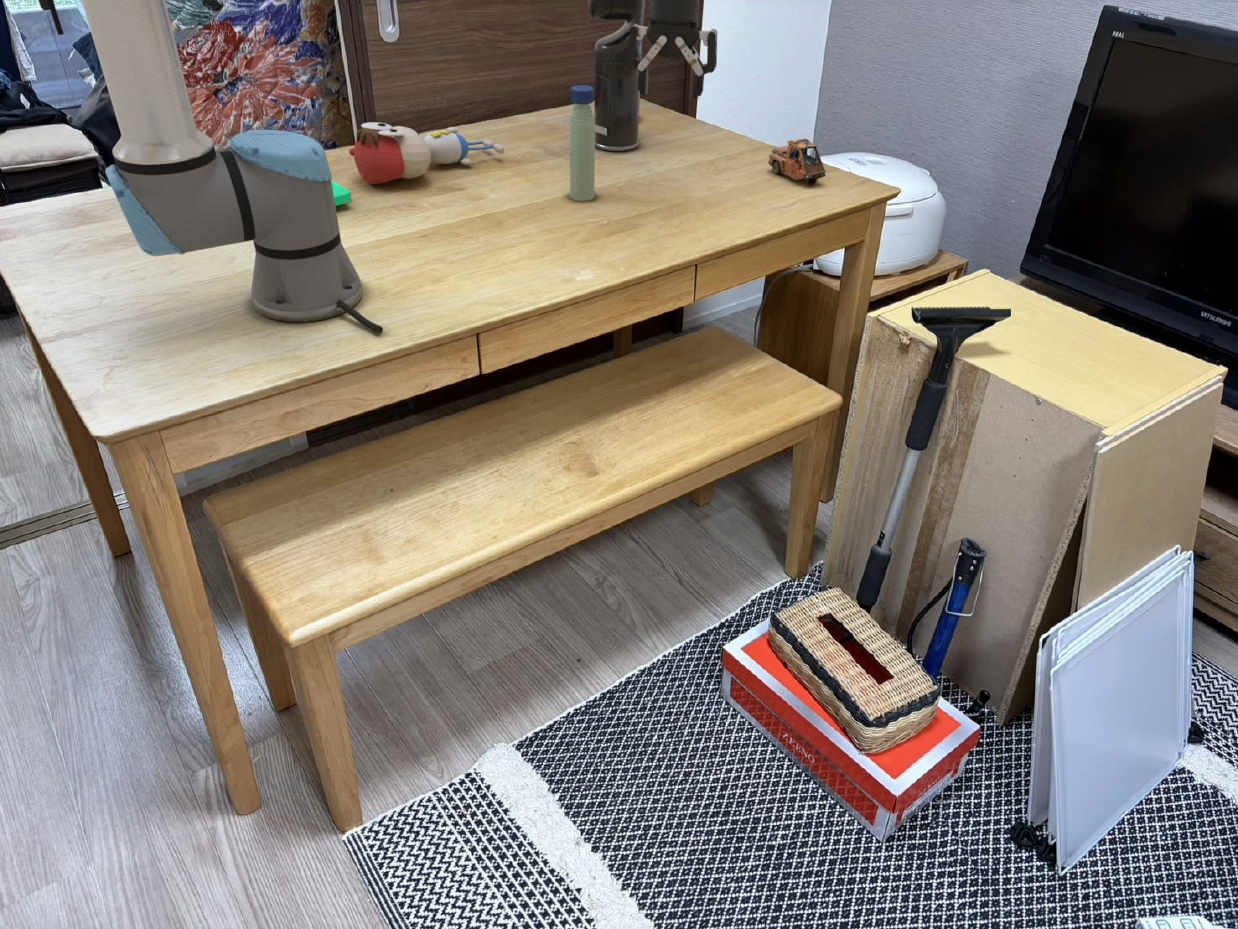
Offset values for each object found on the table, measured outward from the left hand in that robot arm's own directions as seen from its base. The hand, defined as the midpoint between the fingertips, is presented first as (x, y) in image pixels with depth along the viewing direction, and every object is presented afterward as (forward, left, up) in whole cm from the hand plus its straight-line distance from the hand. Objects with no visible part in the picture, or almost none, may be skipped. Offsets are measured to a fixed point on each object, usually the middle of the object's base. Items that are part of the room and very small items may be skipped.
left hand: (108, 29), depth 146 cm
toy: (-6, -48, -28) cm, 56 cm away
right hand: (-45, -77, -8) cm, 90 cm away
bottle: (-32, -68, -28) cm, 80 cm away
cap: (-32, -68, -9) cm, 76 cm away
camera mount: (-14, -25, -28) cm, 40 cm away
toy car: (-41, -110, -28) cm, 121 cm away
